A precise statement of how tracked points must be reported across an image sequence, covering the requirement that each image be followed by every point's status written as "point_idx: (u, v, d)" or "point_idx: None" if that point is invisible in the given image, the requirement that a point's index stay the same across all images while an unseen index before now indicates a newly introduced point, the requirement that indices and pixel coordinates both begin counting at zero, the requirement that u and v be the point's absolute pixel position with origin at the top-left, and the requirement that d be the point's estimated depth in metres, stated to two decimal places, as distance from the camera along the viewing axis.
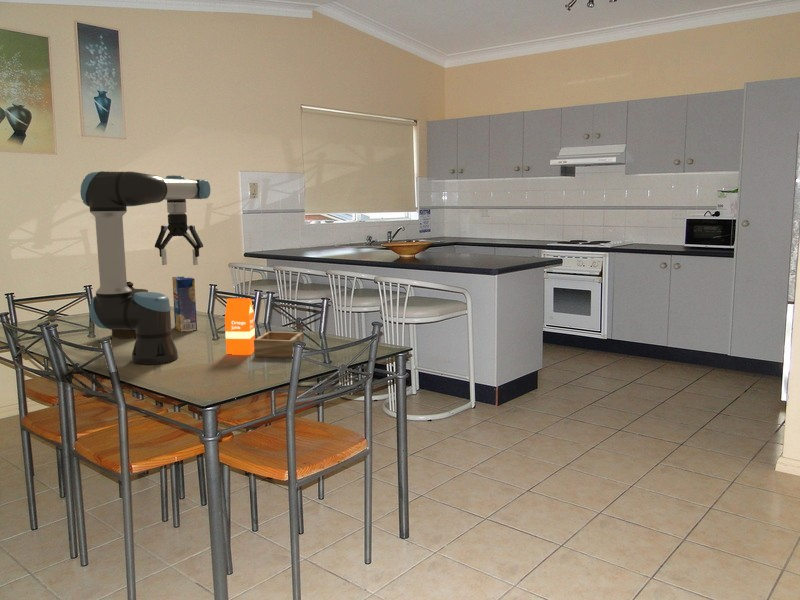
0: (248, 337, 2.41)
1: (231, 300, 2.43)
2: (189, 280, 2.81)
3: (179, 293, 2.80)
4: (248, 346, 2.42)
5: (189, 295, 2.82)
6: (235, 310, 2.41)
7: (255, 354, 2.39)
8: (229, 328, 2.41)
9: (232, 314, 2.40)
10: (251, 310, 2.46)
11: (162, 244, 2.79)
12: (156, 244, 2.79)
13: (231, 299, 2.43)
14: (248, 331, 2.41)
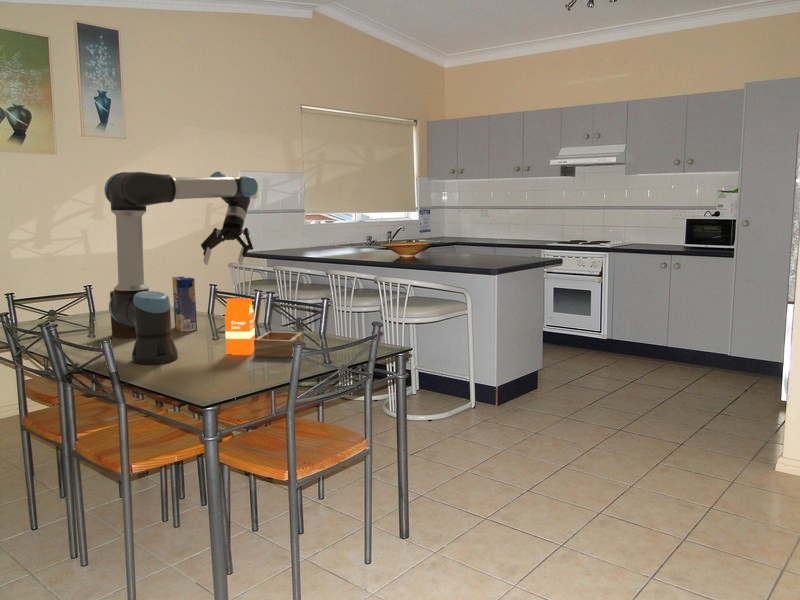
0: (248, 337, 2.41)
1: (231, 300, 2.43)
2: (189, 280, 2.81)
3: (179, 293, 2.80)
4: (248, 346, 2.42)
5: (189, 295, 2.82)
6: (235, 310, 2.41)
7: (255, 354, 2.39)
8: (229, 328, 2.41)
9: (232, 314, 2.40)
10: (251, 310, 2.46)
11: (210, 243, 2.59)
12: (203, 243, 2.60)
13: (231, 299, 2.43)
14: (248, 331, 2.41)
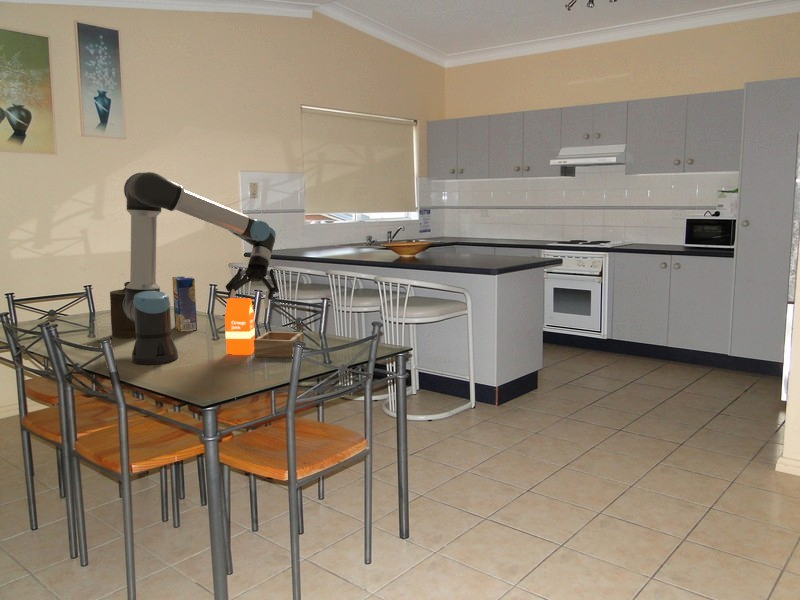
0: (248, 337, 2.41)
1: (231, 300, 2.43)
2: (189, 280, 2.81)
3: (179, 293, 2.80)
4: (248, 346, 2.42)
5: (189, 295, 2.82)
6: (235, 310, 2.41)
7: (255, 354, 2.39)
8: (229, 328, 2.41)
9: (232, 314, 2.40)
10: (251, 310, 2.46)
11: (234, 284, 2.54)
12: (228, 284, 2.54)
13: (231, 299, 2.43)
14: (248, 331, 2.41)
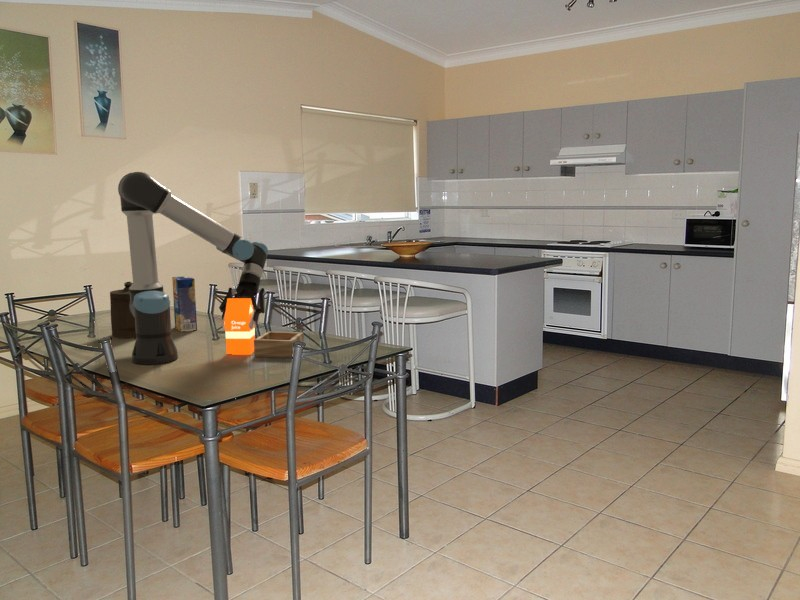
0: (248, 337, 2.41)
1: (231, 300, 2.43)
2: (189, 280, 2.81)
3: (179, 293, 2.80)
4: (248, 346, 2.42)
5: (189, 295, 2.82)
6: (235, 310, 2.41)
7: (255, 354, 2.39)
8: (229, 328, 2.41)
9: (232, 314, 2.40)
10: (251, 310, 2.46)
11: None
12: (221, 305, 2.46)
13: (231, 299, 2.43)
14: (248, 331, 2.41)
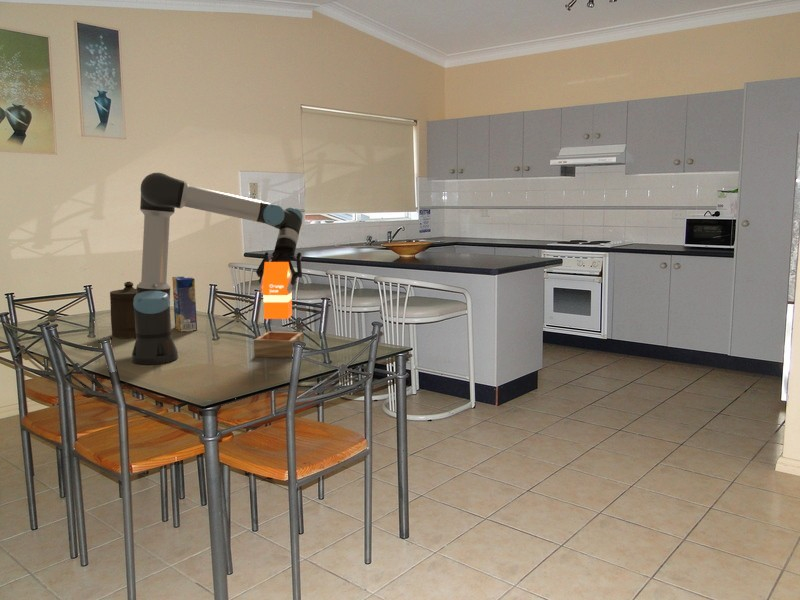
0: (286, 301, 2.39)
1: (269, 264, 2.41)
2: (189, 280, 2.81)
3: (179, 293, 2.80)
4: (286, 310, 2.40)
5: (189, 295, 2.82)
6: (273, 273, 2.39)
7: (255, 354, 2.39)
8: (267, 292, 2.39)
9: (270, 277, 2.38)
10: (288, 274, 2.44)
11: None
12: (258, 269, 2.44)
13: (269, 263, 2.41)
14: (286, 294, 2.39)
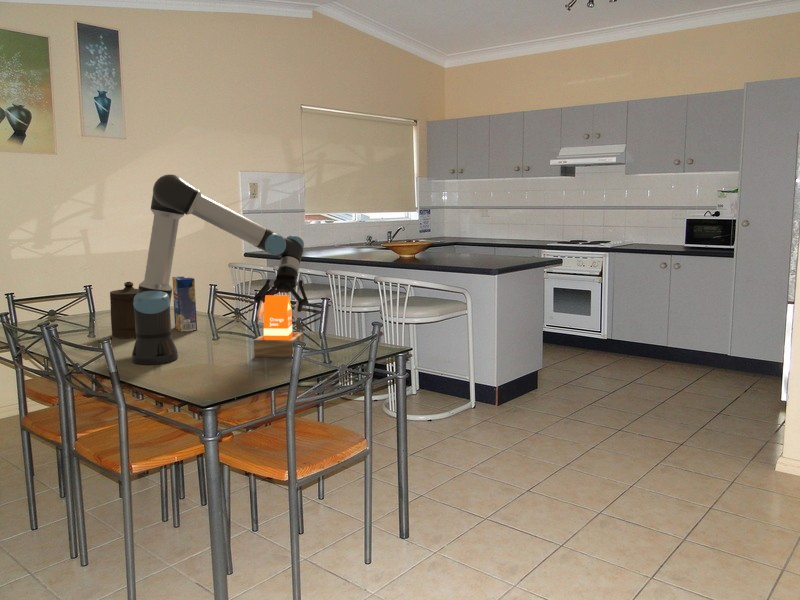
0: (286, 334, 2.41)
1: (269, 297, 2.43)
2: (189, 280, 2.81)
3: (179, 293, 2.80)
4: None
5: (189, 295, 2.82)
6: (273, 307, 2.41)
7: (255, 354, 2.39)
8: (268, 325, 2.41)
9: (270, 311, 2.40)
10: (289, 307, 2.46)
11: (263, 296, 2.47)
12: (256, 296, 2.47)
13: (269, 296, 2.43)
14: (286, 328, 2.41)
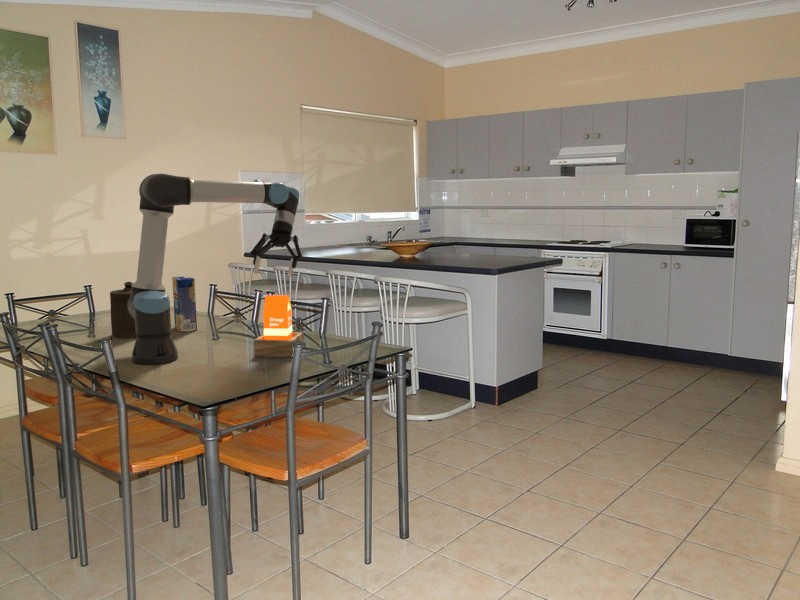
0: (286, 334, 2.41)
1: (269, 297, 2.43)
2: (189, 280, 2.81)
3: (179, 293, 2.80)
4: None
5: (189, 295, 2.82)
6: (273, 307, 2.41)
7: (255, 354, 2.39)
8: (268, 325, 2.41)
9: (270, 311, 2.40)
10: (289, 307, 2.46)
11: (259, 251, 2.56)
12: (252, 250, 2.57)
13: (269, 296, 2.43)
14: (286, 328, 2.41)
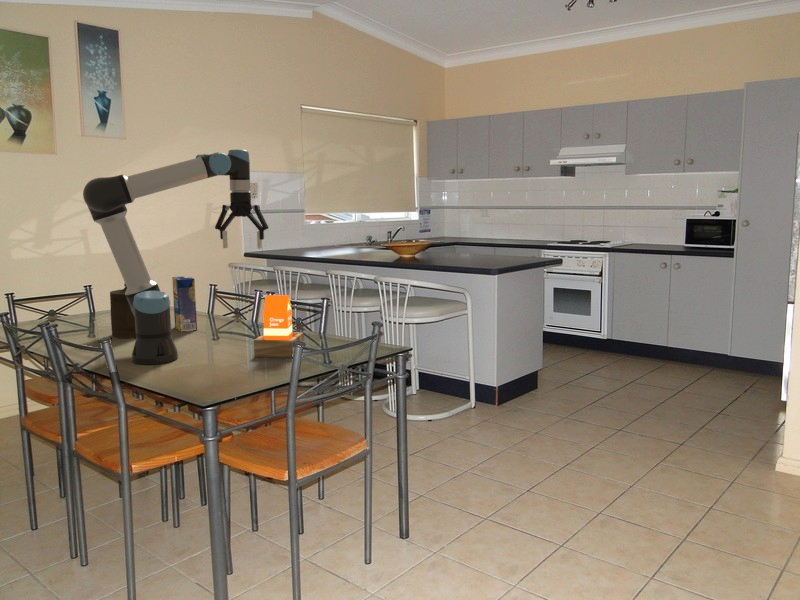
0: (286, 334, 2.41)
1: (269, 297, 2.43)
2: (189, 280, 2.81)
3: (179, 293, 2.80)
4: None
5: (189, 295, 2.82)
6: (273, 307, 2.41)
7: (255, 354, 2.39)
8: (268, 325, 2.41)
9: (270, 311, 2.40)
10: (289, 307, 2.46)
11: (223, 225, 2.55)
12: (217, 225, 2.55)
13: (269, 296, 2.43)
14: (286, 328, 2.41)
